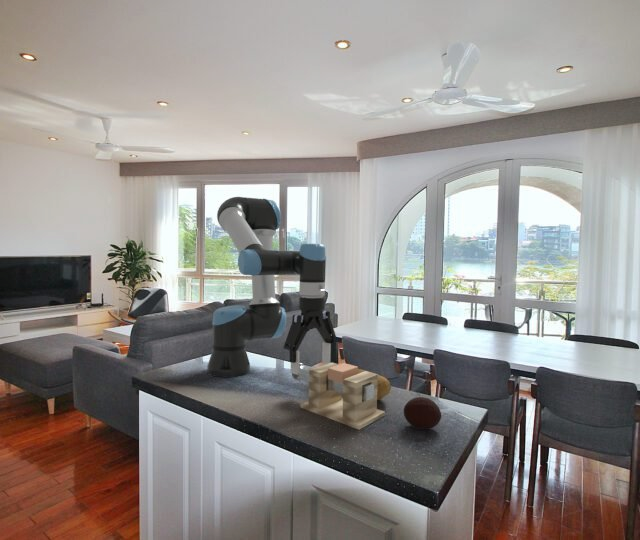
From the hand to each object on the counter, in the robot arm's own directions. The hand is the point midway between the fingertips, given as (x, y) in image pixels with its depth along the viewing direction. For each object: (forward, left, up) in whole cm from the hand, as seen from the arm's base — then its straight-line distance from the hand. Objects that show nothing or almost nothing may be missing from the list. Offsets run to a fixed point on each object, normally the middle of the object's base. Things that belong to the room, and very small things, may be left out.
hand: (311, 368), depth 114 cm
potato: (+12, +14, -10) cm, 20 cm away
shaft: (+8, 0, -4) cm, 9 cm away
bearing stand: (+12, 0, -9) cm, 15 cm away
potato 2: (+32, +6, -10) cm, 34 cm away
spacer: (+12, 0, 0) cm, 12 cm away
